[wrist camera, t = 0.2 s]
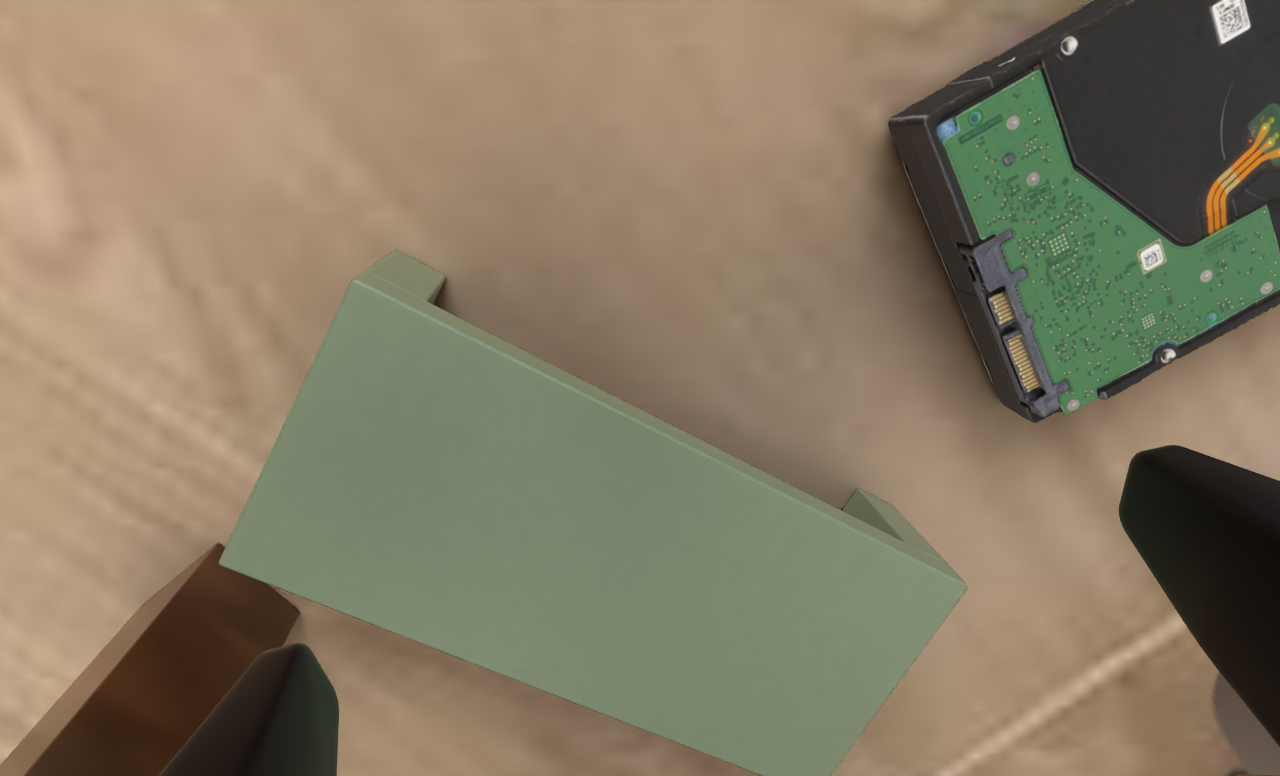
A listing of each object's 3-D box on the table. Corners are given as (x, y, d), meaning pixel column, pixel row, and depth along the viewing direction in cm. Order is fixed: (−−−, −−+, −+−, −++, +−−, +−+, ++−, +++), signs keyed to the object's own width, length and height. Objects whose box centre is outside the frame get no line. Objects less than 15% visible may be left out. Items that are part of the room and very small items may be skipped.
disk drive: (1338, -155, 21) (873, 123, 22) (1451, -198, 19) (920, 119, 19) (1406, 178, 25) (999, 411, 25) (1510, 181, 22) (1053, 442, 23)
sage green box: (770, 686, 28) (815, 798, 23) (283, 480, 23) (216, 565, 19) (894, 506, 26) (971, 586, 21) (395, 248, 22) (352, 277, 17)
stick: (301, 612, 25) (55, 1072, 12) (224, 673, 25) (-87, 1179, 13) (218, 541, 24) (-137, 968, 11) (140, 606, 24) (-287, 1088, 12)
